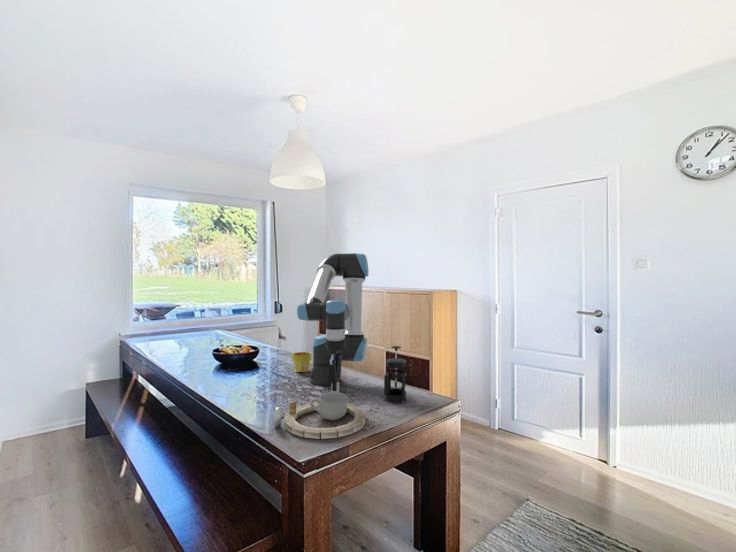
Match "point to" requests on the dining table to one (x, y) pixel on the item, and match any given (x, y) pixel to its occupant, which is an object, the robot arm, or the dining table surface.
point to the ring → (322, 432)
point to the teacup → (331, 405)
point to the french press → (395, 389)
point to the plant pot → (301, 361)
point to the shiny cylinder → (277, 417)
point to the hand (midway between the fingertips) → (335, 398)
